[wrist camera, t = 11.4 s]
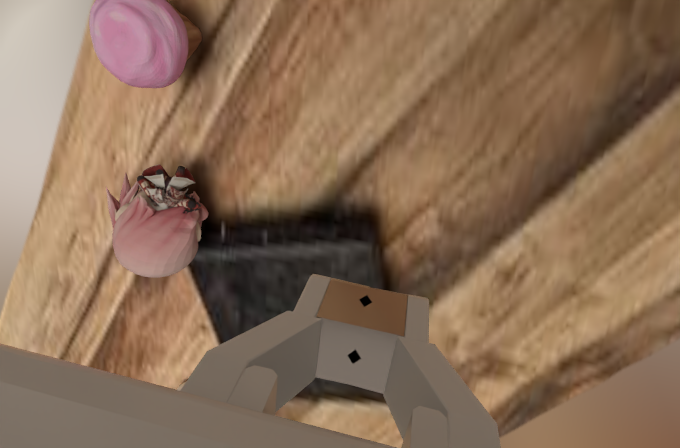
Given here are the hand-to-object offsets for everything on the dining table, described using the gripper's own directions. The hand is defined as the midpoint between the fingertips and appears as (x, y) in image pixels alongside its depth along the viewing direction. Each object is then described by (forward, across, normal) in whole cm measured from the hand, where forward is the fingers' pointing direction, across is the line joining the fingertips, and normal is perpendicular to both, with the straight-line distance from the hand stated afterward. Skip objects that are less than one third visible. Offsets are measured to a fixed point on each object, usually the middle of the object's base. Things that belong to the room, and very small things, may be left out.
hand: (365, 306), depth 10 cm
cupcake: (+35, +26, -2) cm, 44 cm away
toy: (+36, +28, +18) cm, 49 cm away
